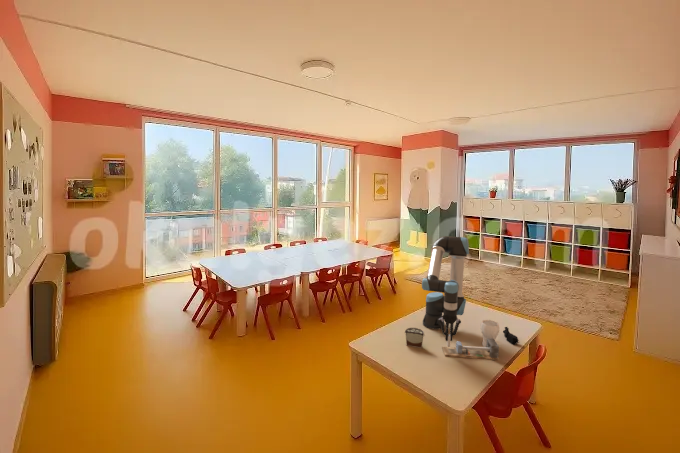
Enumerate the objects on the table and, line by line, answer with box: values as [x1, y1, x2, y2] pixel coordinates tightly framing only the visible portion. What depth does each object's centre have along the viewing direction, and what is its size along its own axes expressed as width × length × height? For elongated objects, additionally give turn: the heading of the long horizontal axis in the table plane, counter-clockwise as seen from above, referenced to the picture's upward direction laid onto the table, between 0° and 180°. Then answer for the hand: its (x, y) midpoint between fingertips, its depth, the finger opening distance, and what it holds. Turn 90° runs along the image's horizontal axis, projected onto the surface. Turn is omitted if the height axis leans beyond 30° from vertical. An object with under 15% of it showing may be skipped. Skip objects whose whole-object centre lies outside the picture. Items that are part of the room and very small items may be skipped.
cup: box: [480, 319, 500, 347], centre depth 201 cm, size 11×11×15 cm
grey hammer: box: [455, 340, 490, 355], centre depth 191 cm, size 19×7×5 cm, turn 82°
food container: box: [404, 327, 426, 349], centre depth 204 cm, size 12×6×10 cm, turn 71°
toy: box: [502, 326, 519, 346], centre depth 209 cm, size 15×5×7 cm, turn 179°
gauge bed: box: [441, 339, 500, 360], centre depth 192 cm, size 30×9×8 cm, turn 82°
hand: (448, 345), depth 194 cm, fingers closed
